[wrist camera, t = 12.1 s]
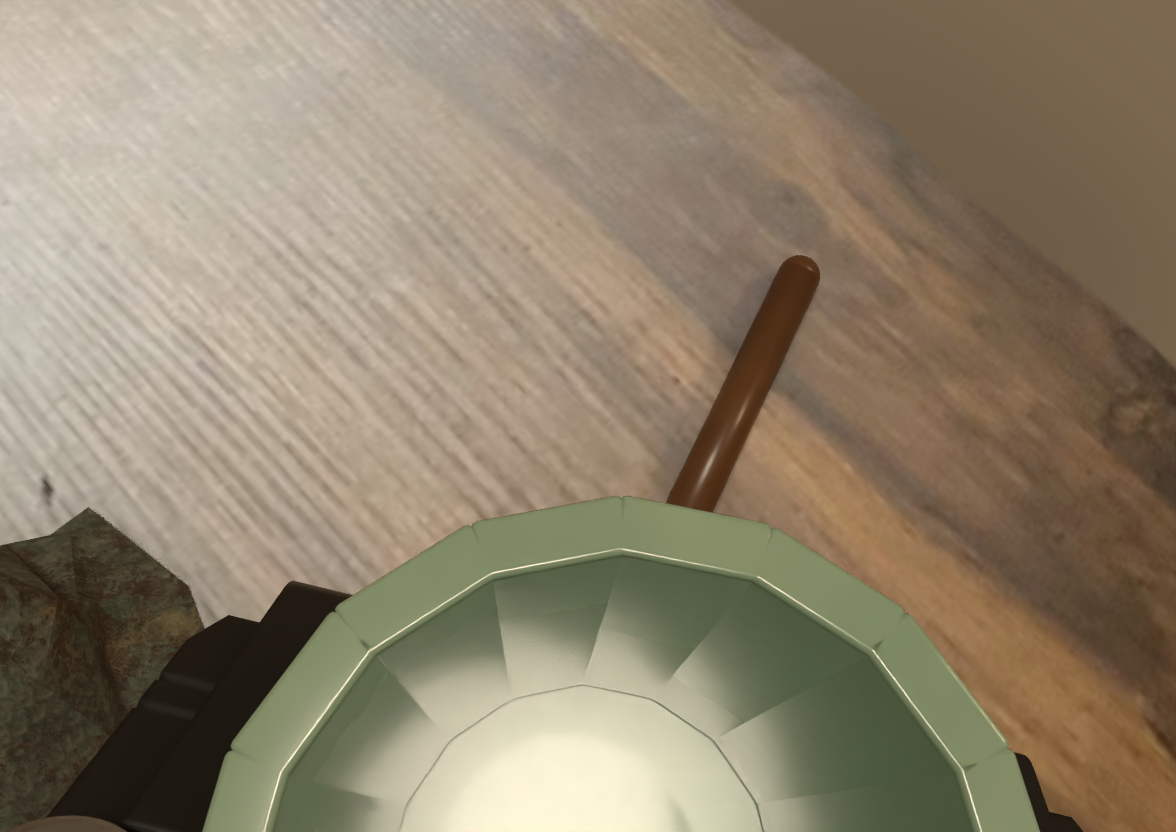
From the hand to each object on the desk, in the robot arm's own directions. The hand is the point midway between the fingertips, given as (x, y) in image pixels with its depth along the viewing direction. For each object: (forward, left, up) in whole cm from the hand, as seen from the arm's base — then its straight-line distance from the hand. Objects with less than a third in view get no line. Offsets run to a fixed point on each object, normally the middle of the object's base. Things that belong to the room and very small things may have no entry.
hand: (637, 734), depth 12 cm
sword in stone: (+10, +11, -17) cm, 22 cm away
